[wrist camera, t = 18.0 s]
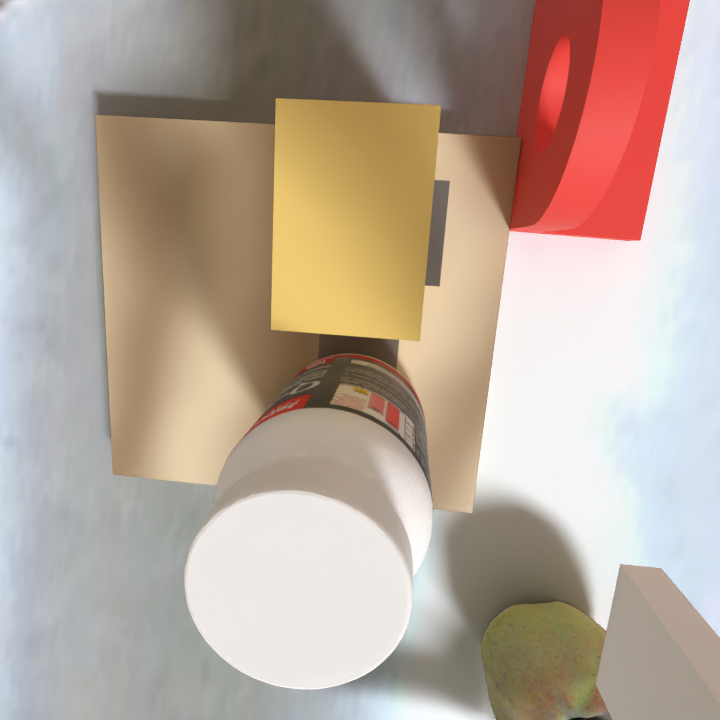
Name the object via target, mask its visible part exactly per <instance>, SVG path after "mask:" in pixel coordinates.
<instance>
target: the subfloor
mask: <svg viewBox="0 0 720 720" xmlns="http://www.w3.org/2000/svg"><path fill="white" fill-rule="evenodd" d="M95 119H96V140H97V160H98V181H99V201H100V222H101V242H102V262H103V283H104V303H105V324H106V344H107V365H108V385H109V406H110V426H111V447H112V467H113V474H114V475H123V476H132V477H142V478H151V479H160V480H170V481H179V482H188V483H197V484H207V485H217V482H218V479H219V476H220V473H221V471H222V468H223V466H224V464H225V462H226V460H227V458H228V456H229V455H230V453H231V452H232V450H233V449H234V448H235V446H236V445H237V444H238V443H239V441H240V440H241V439H242V438H243V437H244V435H245V434H246V433H247V432H248V431H249V430H250V428H251V427H252V426H253V425H254V424H255V423H256V421H257V420H258V419H259V418H260V417H261V415H262V414H263V413H264V412H265V411H266V410H267V409H268V407H269V406H270V405H271V404H272V403H273V401H274V400H275V399H276V398H277V396H278V395H279V394H280V393H281V392H282V390H283V389H284V388H285V387H286V386H287V384H288V383H289V382H290V381H291V380H292V379H293V378H294V376H295V375H296V374H297V373H298V372H300V371H301V370H302V369H304V368H305V367H307V366H308V365H310V364H311V363H313V362H315V361H317V360H319V359H322V358H324V357H328V356H331V355H337V354H361V355H366V356H370V357H373V358H376V359H378V360H381V361H383V362H385V363H387V364H388V365H390V366H392V367H393V368H394V369H396V370H397V371H398V372H400V373H401V374H402V375H403V376H404V377H405V378H406V379H407V380H408V382H409V383H410V384H411V385H412V387H413V388H414V390H415V392H416V393H417V395H418V397H419V400H420V402H421V405H422V408H423V412H424V416H425V423H426V434H427V446H428V459H429V469H430V479H431V490H432V500H433V509H439V510H448V511H457V512H466V513H472V510H473V502H474V495H475V487H476V480H477V472H478V464H479V457H480V449H481V442H482V434H483V427H484V419H485V411H486V404H487V396H488V389H489V381H490V374H491V366H492V358H493V351H494V343H495V336H496V328H497V320H498V313H499V305H500V298H501V290H502V283H503V275H504V267H505V260H506V252H507V245H508V237H509V229H510V222H511V214H512V207H513V199H514V192H515V184H516V176H517V169H518V161H519V154H520V146H521V138H522V137H505V136H486V135H467V134H448V133H439V136H438V147H437V158H436V169H435V180H445V181H450V186H449V196H448V206H447V217H446V227H445V237H444V248H443V258H442V268H441V278H440V287H439V286H425V290H424V301H423V312H422V323H421V334H420V341H409V340H396V339H383V338H370V337H357V336H344V335H331V334H318V333H305V332H292V331H279V330H271V298H272V252H273V205H274V158H275V124H259V123H241V122H222V121H203V120H184V119H165V118H146V117H127V116H109V115H95Z"/></svg>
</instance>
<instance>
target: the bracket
mask: <svg viewBox="0 0 720 720" xmlns="http://www.w3.org/2000/svg"><path fill="white" fill-rule="evenodd" d="M689 2H690V0H536V4H535V11H534V18H533V25H532V32H531V39H530V46H529V53H528V60H527V66H526V73H525V80H524V87H523V94H522V101H521V108H520V115H519V122H518V129H517V136H516V137H522V138H521V146H520V154H519V161H518V169H517V176H516V184H515V192H514V199H513V207H512V214H511V222H510V229H509V231H516V232H528V233H540V234H552V235H564V236H577V237H589V238H601V239H613V240H625V241H636V240H640V239H641V234H642V229H643V225H644V220H645V215H646V210H647V205H648V200H649V195H650V191H651V186H652V181H653V176H654V171H655V166H656V162H657V157H658V152H659V147H660V142H661V137H662V133H663V128H664V123H665V118H666V113H667V108H668V103H669V99H670V94H671V89H672V84H673V79H674V74H675V70H676V65H677V60H678V55H679V50H680V45H681V41H682V36H683V31H684V26H685V21H686V16H687V12H688V7H689Z"/></svg>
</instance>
